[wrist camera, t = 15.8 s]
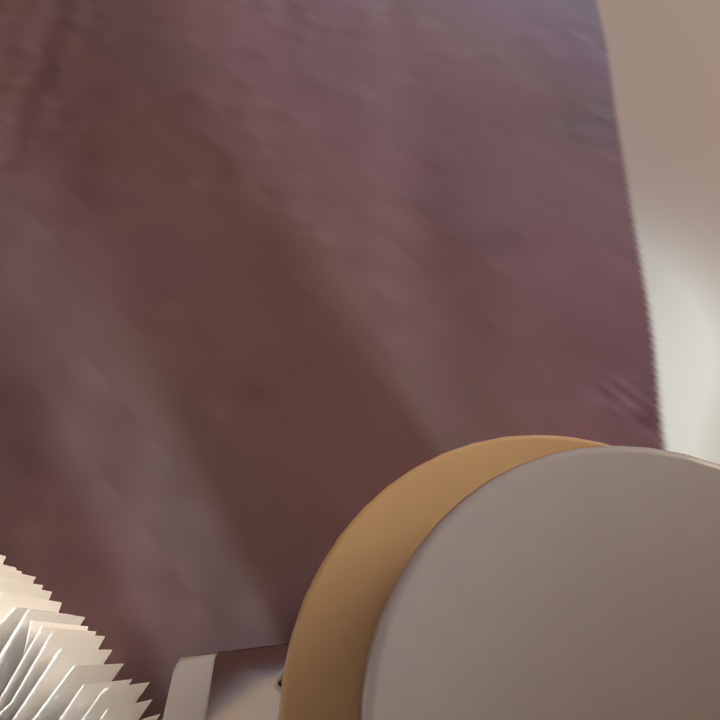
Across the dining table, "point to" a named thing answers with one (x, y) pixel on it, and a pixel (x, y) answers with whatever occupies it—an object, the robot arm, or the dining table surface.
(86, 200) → the dining table surface
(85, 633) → the spiky fractal disc
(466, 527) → the tan bottle
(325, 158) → the dining table surface
